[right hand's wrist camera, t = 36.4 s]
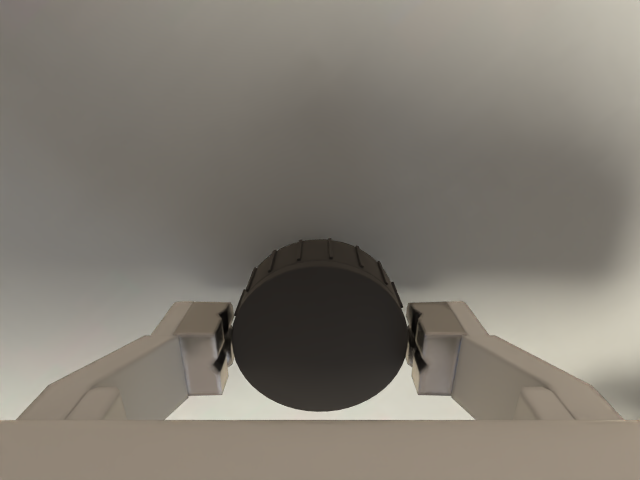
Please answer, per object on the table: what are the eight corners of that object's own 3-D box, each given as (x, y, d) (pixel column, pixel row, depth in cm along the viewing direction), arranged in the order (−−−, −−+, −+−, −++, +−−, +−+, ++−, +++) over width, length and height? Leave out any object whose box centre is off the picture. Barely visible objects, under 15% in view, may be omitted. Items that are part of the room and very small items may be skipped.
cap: (268, 380, 12) (260, 426, 10) (222, 255, 10) (203, 286, 8) (406, 354, 11) (420, 397, 10) (382, 220, 10) (394, 244, 8)
